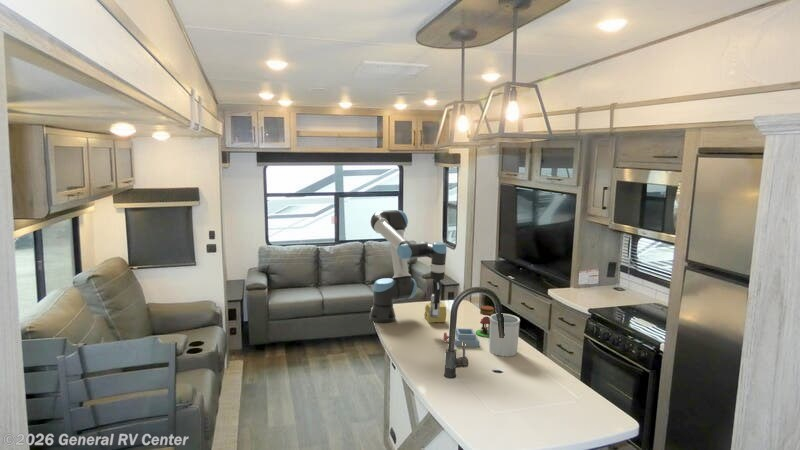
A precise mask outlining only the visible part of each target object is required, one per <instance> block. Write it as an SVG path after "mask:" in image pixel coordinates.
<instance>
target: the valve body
mask: <svg viewBox="0 0 800 450" xmlns="http://www.w3.org/2000/svg"><path fill="white" fill-rule="evenodd" d="M455 331H456V339H455V344H454V345H455V347H459V346H462V342H463V341H464V342H465V344H466V346H471V347H470V348H479V347H480V340H479V338H478V336H477V334H476V332H475V330H474V329H473V328H458V327H457V328H455ZM449 336H450V335H448V334H447V332H443V342H444V341H446V342H445V343H447V341H448V340H449V339H448V338H449Z"/></svg>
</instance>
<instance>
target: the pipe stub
mask: <svg viewBox="0 0 800 450" xmlns="http://www.w3.org/2000/svg"><path fill="white" fill-rule="evenodd" d="M441 297H442V295H441V294H440V298H441ZM433 302H434V294H431V296H430V303H431V307H430V317H432V318H438V317H439V310H440V302H441V299H440V300H439V306H438V315H433Z"/></svg>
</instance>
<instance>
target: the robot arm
mask: <svg viewBox="0 0 800 450" xmlns="http://www.w3.org/2000/svg"><path fill="white" fill-rule="evenodd" d="M408 220H409V219H408V217H407V214H406V213H405V212H404V211H403V210H398V209H392V210H389V209H388V210H387V209H386V210H384V209H383V210H377V211H376V212H374V213H373V214H372V216H371V219H370V226H371V228H372V229H373V231H374V233H377V234H380V235H381V236H382V237H383V238H384V239H385V240H386V241H388V242H389V245H390V254H391V260H392V269H393V276H392V277H391V278H390V277H387V278H386V277H384V278H380V279H377V280H375V281H374V283H373V298H372V301H373V302H372V303H373V304H372V307H371V310H370V313H369V320H370V321H372V322H375V323H382V324H387V323H388V324H389V323H392V322H395V321H396V313H395V309H394V301H399V300H407V299H411V298H414V297H415V295H416V293H417V291H418V285H417V284H418V283H417V281H416V280H415V279H414V278H413V277H412V274H411V273H409V268H408V267H409V266H408V259H414V258H415V259H416V258H417V259H418V258H429V259H431V262H430V265H429V267H430V274H429V275H430V277H429V278H430V279H431V280H432V292H431V293H432V294H434V302H433V315H438V306H439V300H440V301H441V297H440V295H441V288H442V287H441V284H442V282H441V281H442V280H444V279H445V274H446V273H445V271H446V259H447V243H444V242H440V241H435V242H433V243H430V242H428V241H421V242H420V243H411V242H410V241H408V240H407V238H405V237H404V233H405V232H406V228H407V227H408V224H409V223H408V222H409V221H408Z"/></svg>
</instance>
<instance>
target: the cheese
mask: <svg viewBox="0 0 800 450" xmlns="http://www.w3.org/2000/svg"><path fill="white" fill-rule="evenodd" d="M430 307H431V302H430V303H426V305H425V307H424V315H423V316H424V319H425V318H426V319H425V321H427V323H428V322H429V323H428V324H432V323H431V322H445V323H446V319H447V307H446V306H445V305H444V303H443V302H441V301H440V310H439V317H438V318H432V317H430Z"/></svg>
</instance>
